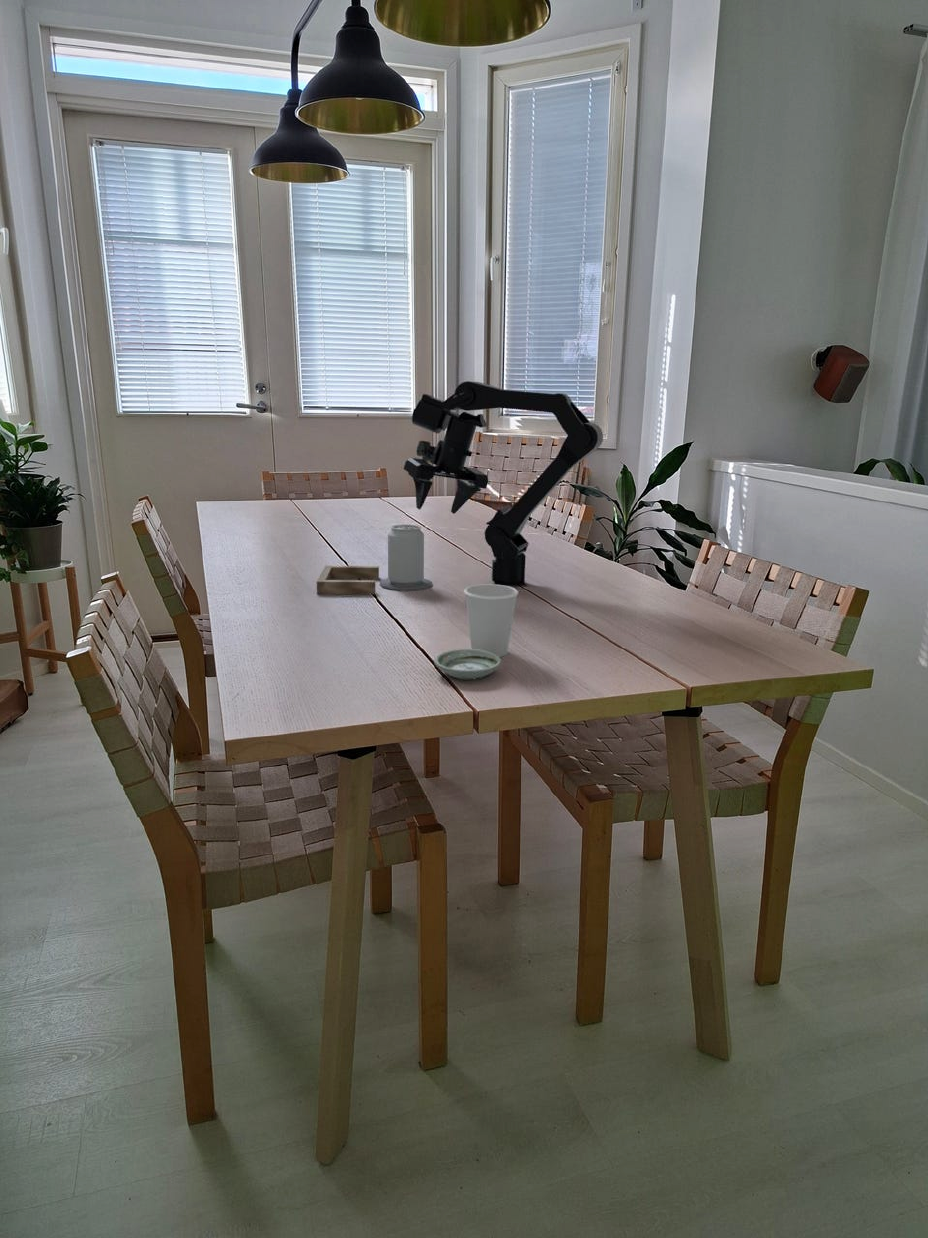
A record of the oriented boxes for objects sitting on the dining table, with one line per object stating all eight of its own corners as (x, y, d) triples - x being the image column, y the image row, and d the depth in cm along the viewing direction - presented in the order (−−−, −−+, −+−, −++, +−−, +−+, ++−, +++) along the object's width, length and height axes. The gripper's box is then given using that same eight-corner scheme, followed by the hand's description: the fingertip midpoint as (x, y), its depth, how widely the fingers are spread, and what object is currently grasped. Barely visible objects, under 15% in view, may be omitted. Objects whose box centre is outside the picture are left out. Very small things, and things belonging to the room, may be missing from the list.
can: (422, 587, 166) (422, 529, 162) (386, 586, 166) (385, 528, 163) (424, 579, 173) (425, 523, 170) (390, 578, 173) (389, 522, 170)
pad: (431, 578, 175) (431, 576, 175) (432, 591, 164) (432, 589, 164) (381, 578, 174) (381, 576, 174) (378, 590, 164) (378, 588, 164)
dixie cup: (484, 640, 133) (486, 581, 130) (526, 651, 128) (529, 590, 125) (452, 652, 126) (453, 590, 124) (494, 664, 121) (496, 599, 119)
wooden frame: (378, 577, 175) (378, 566, 175) (375, 594, 161) (374, 582, 160) (325, 576, 175) (325, 565, 174) (317, 593, 160) (316, 581, 160)
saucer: (421, 677, 116) (421, 661, 115) (456, 659, 124) (457, 644, 123) (479, 691, 111) (479, 674, 110) (512, 671, 119) (512, 655, 118)
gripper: (471, 436, 180) (450, 501, 185) (401, 422, 168) (381, 492, 174) (499, 452, 172) (477, 520, 178) (428, 439, 160) (406, 512, 166)
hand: (435, 510), depth 174 cm, fingers open, 9 cm apart
